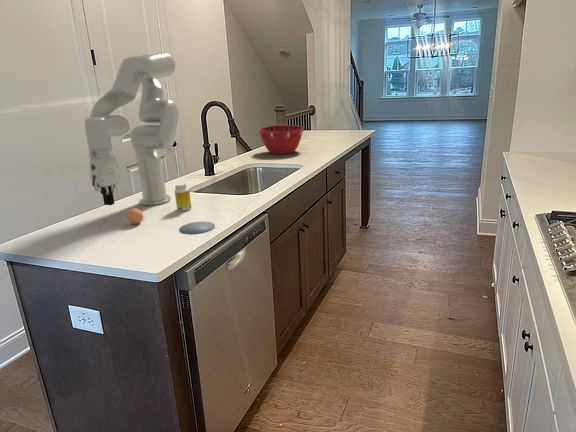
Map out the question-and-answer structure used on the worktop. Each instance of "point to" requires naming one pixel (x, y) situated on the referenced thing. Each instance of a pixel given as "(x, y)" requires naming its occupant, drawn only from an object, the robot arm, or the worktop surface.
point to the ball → (134, 216)
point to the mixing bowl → (281, 138)
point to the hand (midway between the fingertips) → (109, 204)
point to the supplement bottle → (182, 197)
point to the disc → (197, 227)
